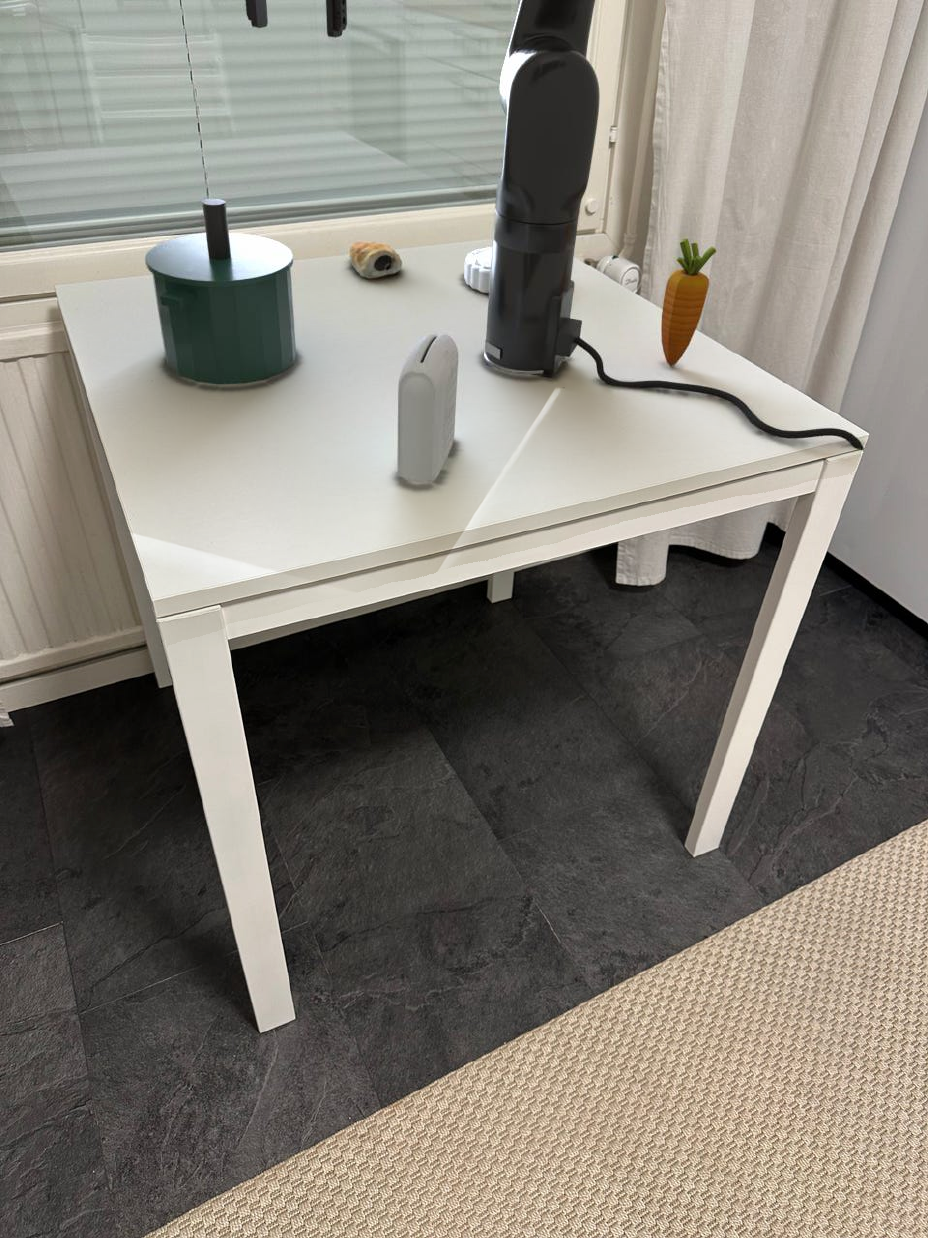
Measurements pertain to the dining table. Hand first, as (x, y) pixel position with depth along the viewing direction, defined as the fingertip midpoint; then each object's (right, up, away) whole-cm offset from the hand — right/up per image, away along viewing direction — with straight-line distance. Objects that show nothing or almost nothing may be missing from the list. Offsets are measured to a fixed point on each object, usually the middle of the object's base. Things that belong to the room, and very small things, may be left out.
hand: (297, 31), depth 94 cm
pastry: (+4, -9, +40) cm, 41 cm away
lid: (-10, -21, +6) cm, 24 cm away
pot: (-10, -30, +13) cm, 34 cm away
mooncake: (+23, -12, +38) cm, 46 cm away
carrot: (+42, -29, +19) cm, 55 cm away
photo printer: (+13, -44, -2) cm, 46 cm away
